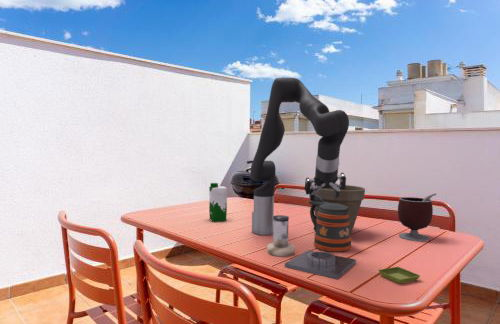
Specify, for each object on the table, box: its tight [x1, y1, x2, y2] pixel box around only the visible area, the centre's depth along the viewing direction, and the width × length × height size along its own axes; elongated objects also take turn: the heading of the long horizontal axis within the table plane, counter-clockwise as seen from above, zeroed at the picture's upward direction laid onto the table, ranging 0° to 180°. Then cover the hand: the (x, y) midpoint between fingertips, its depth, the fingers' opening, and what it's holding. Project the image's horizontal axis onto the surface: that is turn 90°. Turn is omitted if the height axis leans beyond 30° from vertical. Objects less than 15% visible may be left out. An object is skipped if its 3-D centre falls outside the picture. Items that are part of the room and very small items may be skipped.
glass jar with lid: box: [272, 214, 290, 248], centre depth 130 cm, size 6×6×11 cm
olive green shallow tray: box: [378, 266, 421, 285], centre depth 106 cm, size 9×9×2 cm
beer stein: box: [308, 194, 352, 253], centre depth 139 cm, size 19×15×20 cm
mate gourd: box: [397, 192, 437, 242], centre depth 153 cm, size 16×14×20 cm
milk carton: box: [208, 182, 228, 223], centre depth 185 cm, size 9×9×20 cm
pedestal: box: [266, 242, 295, 258], centre depth 130 cm, size 10×10×2 cm
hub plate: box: [284, 249, 357, 280], centre depth 117 cm, size 18×18×3 cm
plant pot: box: [308, 184, 366, 236], centre depth 160 cm, size 25×25×22 cm
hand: (323, 198), depth 127 cm, fingers open, 8 cm apart
